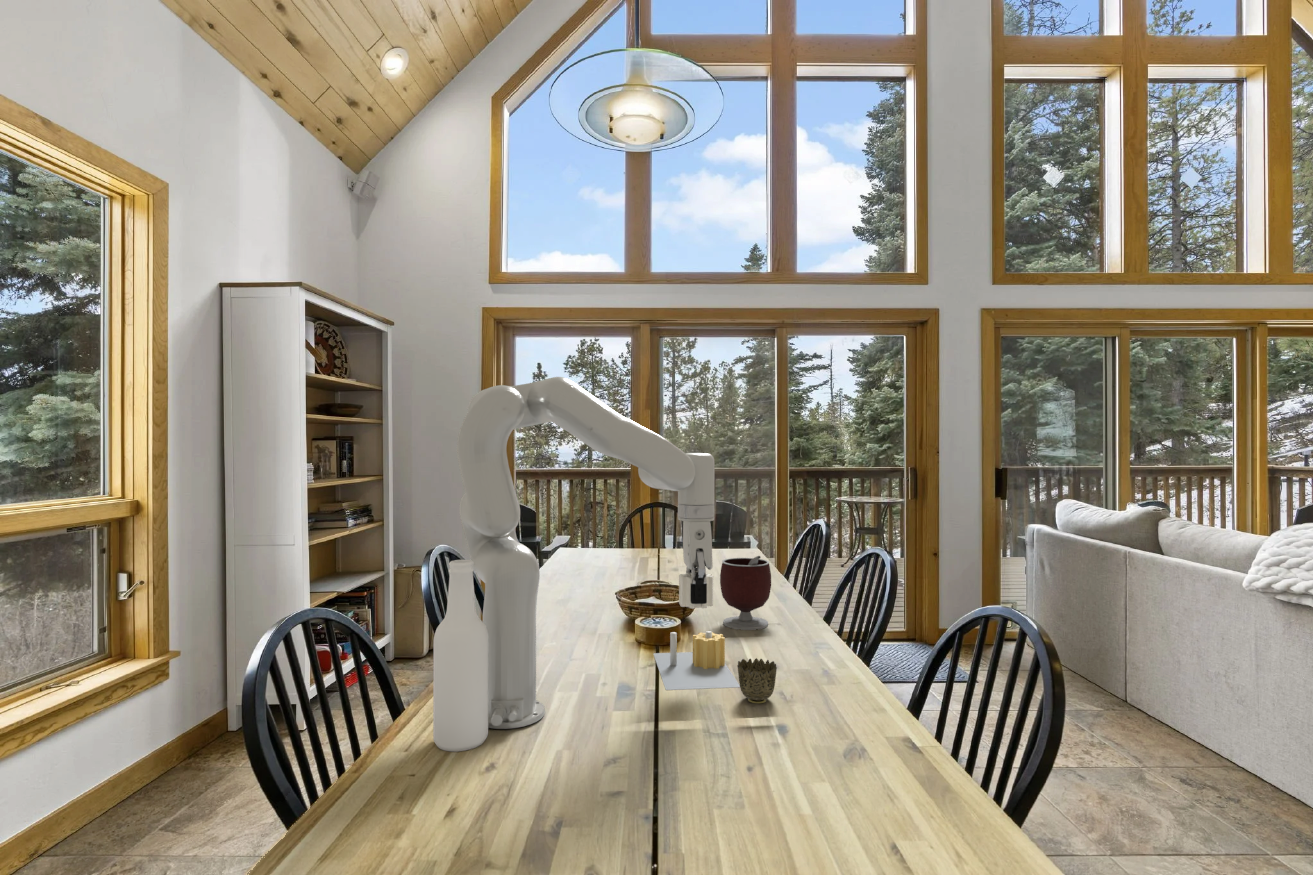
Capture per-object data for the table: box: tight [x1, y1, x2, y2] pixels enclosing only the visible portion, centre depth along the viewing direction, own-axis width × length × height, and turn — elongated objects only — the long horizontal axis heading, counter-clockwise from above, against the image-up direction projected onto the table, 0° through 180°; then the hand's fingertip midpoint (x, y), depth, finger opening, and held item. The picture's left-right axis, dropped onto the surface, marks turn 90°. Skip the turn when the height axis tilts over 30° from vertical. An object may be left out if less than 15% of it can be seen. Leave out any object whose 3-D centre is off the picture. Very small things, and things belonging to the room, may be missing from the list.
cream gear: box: [678, 572, 714, 610], centre depth 145 cm, size 7×7×6 cm
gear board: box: [653, 630, 740, 691], centre depth 151 cm, size 24×15×8 cm, turn 6°
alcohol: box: [432, 559, 489, 753], centre depth 117 cm, size 9×9×30 cm
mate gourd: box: [719, 555, 772, 631], centre depth 192 cm, size 16×14×20 cm
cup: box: [736, 657, 778, 704], centre depth 133 cm, size 8×7×8 cm
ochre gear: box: [692, 631, 726, 669], centre depth 154 cm, size 7×7×6 cm
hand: (695, 598), depth 145 cm, fingers closed on cream gear, 6 cm apart
